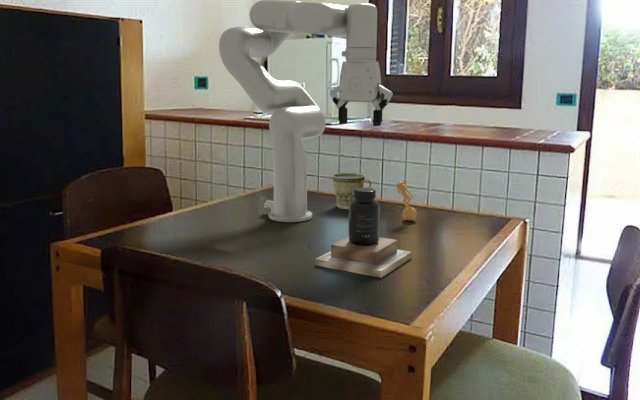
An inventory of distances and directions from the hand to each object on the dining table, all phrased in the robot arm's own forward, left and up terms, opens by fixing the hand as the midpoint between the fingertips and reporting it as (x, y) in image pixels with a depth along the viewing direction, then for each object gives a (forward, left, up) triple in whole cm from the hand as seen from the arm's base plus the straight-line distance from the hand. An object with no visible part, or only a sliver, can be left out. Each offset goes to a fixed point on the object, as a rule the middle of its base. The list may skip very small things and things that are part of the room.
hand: (359, 124), depth 160 cm
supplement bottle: (+13, -22, -24) cm, 35 cm away
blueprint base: (+13, -22, -28) cm, 38 cm away
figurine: (+6, +18, -28) cm, 34 cm away
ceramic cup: (-15, +25, -28) cm, 41 cm away
